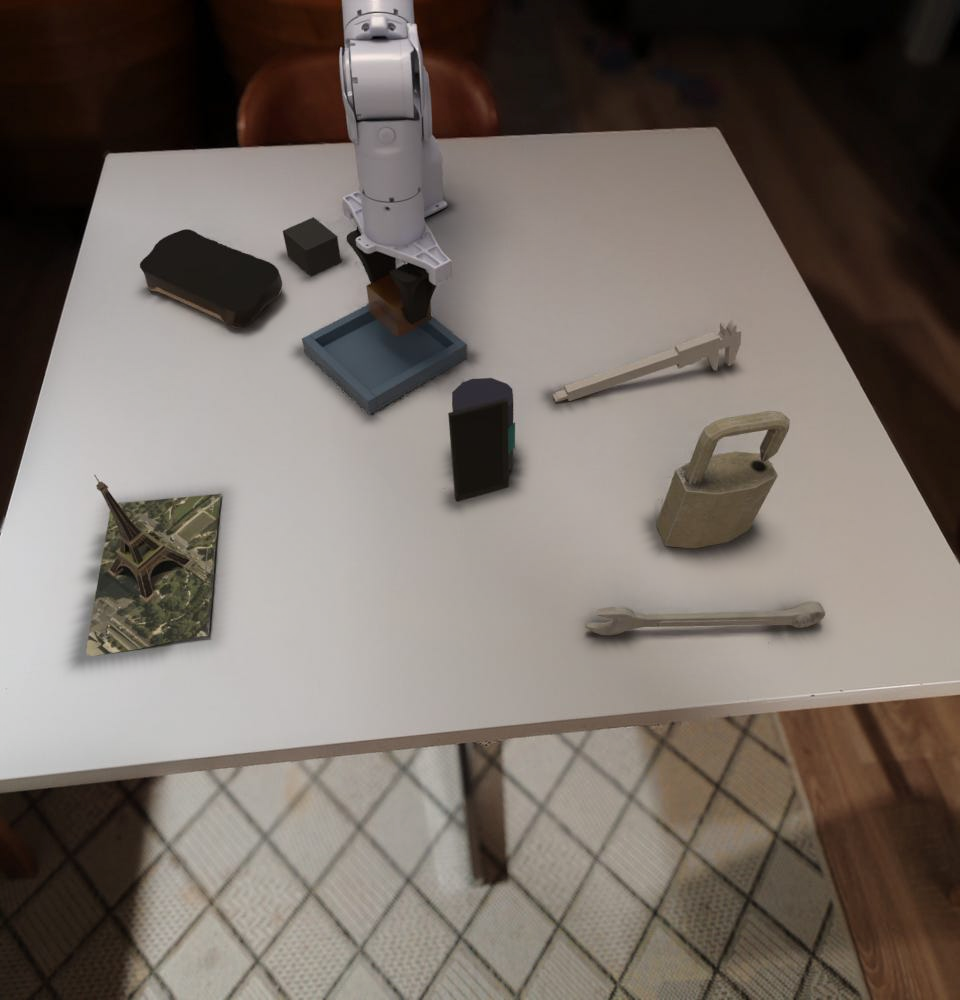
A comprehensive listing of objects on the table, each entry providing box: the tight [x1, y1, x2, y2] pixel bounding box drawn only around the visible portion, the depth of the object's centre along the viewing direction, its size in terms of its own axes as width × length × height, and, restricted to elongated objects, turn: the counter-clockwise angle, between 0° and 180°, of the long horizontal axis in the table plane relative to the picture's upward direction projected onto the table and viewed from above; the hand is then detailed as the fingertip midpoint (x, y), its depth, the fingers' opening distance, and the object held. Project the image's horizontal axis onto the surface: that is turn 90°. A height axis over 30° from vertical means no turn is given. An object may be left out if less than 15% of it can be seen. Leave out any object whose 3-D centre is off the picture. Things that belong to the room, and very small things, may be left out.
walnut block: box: [366, 274, 432, 337], centre depth 80 cm, size 4×5×4 cm
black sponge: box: [139, 228, 283, 329], centre depth 88 cm, size 16×8×4 cm, turn 59°
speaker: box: [447, 377, 516, 502], centre depth 71 cm, size 8×6×10 cm
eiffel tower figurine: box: [85, 474, 222, 657], centre depth 62 cm, size 15×10×13 cm
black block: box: [282, 216, 342, 277], centre depth 92 cm, size 4×5×4 cm
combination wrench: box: [585, 601, 826, 636], centre depth 63 cm, size 4×1×20 cm
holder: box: [301, 303, 468, 415], centre depth 83 cm, size 13×12×2 cm
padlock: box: [655, 410, 791, 549], centre depth 65 cm, size 4×8×15 cm, turn 103°
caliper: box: [552, 318, 742, 403], centre depth 79 cm, size 20×1×6 cm, turn 107°
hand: (400, 305), depth 80 cm, fingers closed on walnut block, 5 cm apart
